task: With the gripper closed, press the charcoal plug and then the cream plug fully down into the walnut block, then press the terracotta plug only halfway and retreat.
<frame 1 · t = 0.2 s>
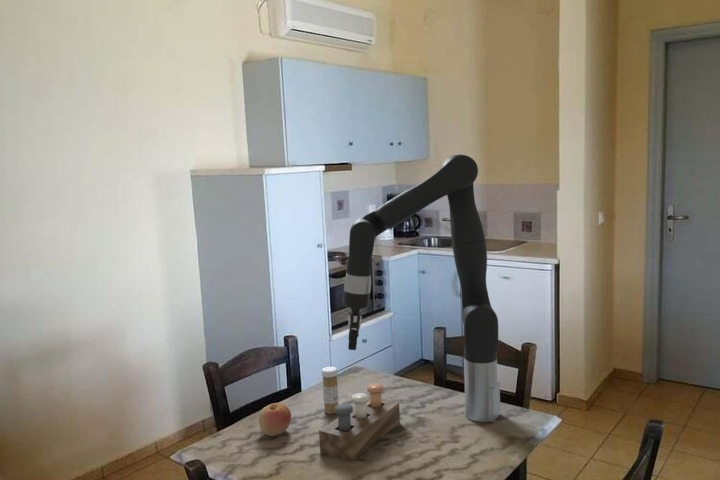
hand: (352, 344, 170), 22 cm above the table, tool pointing down, fingers open, 8 cm apart
cream plug: (360, 408, 161), point 8 cm above the table, slide at 0.0 cm
charcoal plug: (344, 420, 154), point 8 cm above the table, slide at 0.0 cm
apple: (275, 433, 167), on the table
walnut block: (361, 436, 162), on the table
terracotta plug: (375, 398, 168), point 8 cm above the table, slide at 0.0 cm
sprinkles bottle: (331, 412, 179), on the table
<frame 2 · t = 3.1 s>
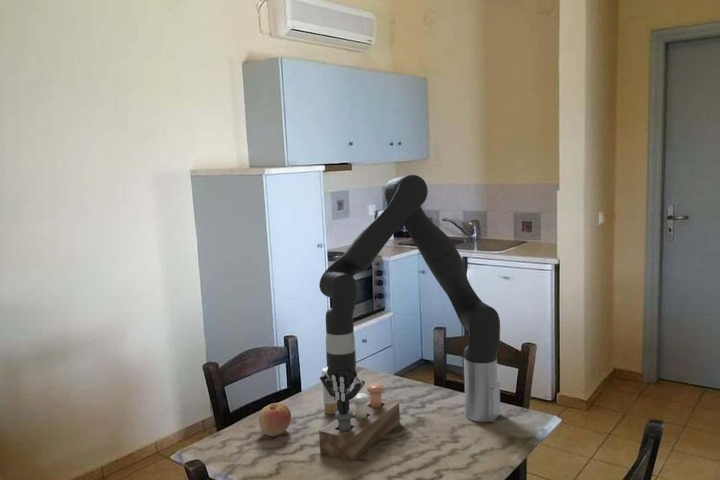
hand: (343, 413, 154), 10 cm above the table, tool pointing down, fingers closed
charcoal plug: (344, 425, 155), point 6 cm above the table, slide at 1.5 cm, touching gripper
everything else where it was.
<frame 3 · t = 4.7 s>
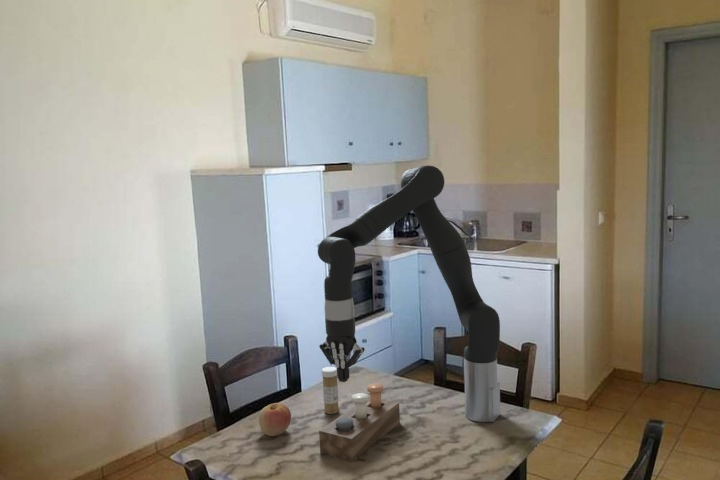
hand: (343, 380, 153), 19 cm above the table, tool pointing down, fingers closed
charcoal plug: (345, 434, 155), point 4 cm above the table, slide at 3.8 cm
everything else where it was.
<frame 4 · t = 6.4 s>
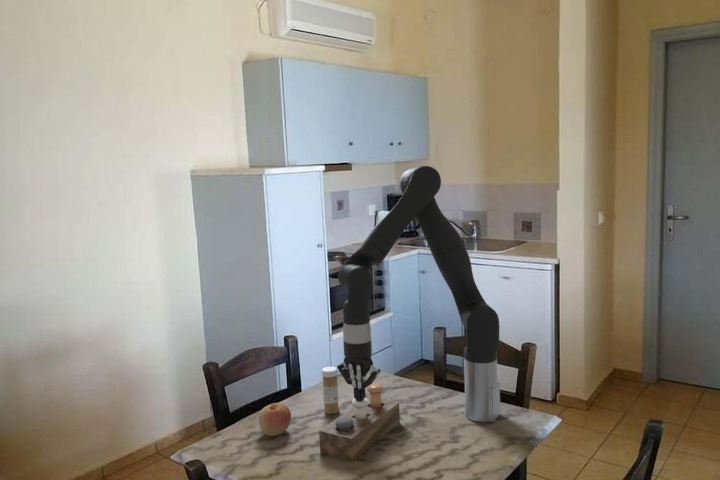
hand: (359, 400, 161), 10 cm above the table, tool pointing down, fingers closed
cream plug: (360, 412, 161), point 7 cm above the table, slide at 1.1 cm, touching gripper
everything else where it was.
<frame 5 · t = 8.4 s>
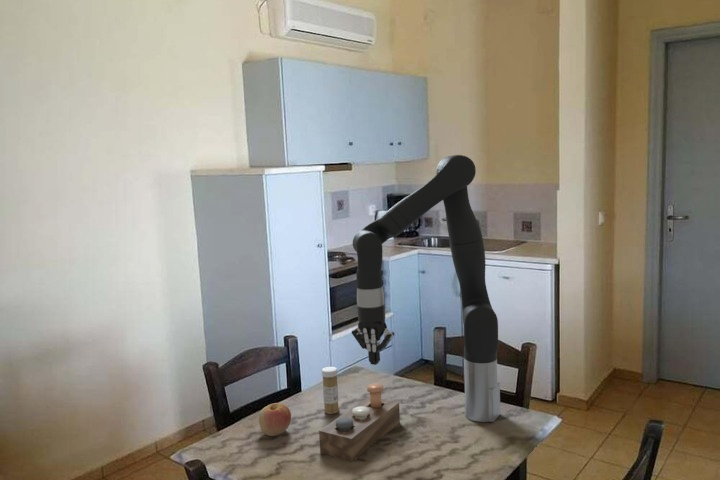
hand: (374, 363, 165), 18 cm above the table, tool pointing down, fingers closed
cream plug: (361, 422, 162), point 4 cm above the table, slide at 3.8 cm
everything else where it was.
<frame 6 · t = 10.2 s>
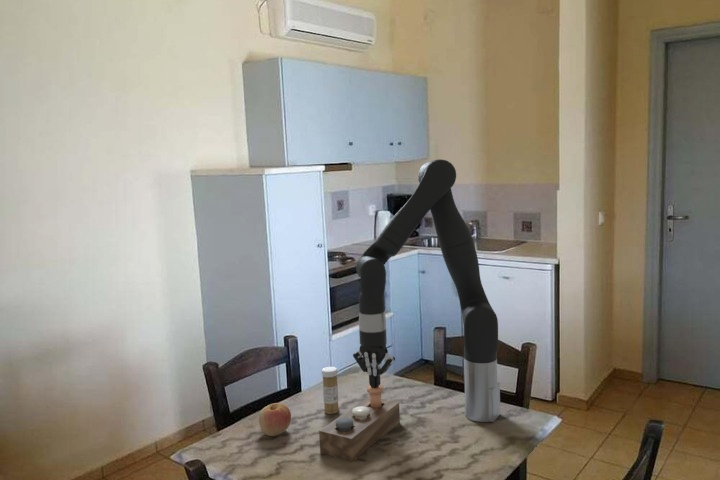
hand: (374, 387, 167), 11 cm above the table, tool pointing down, fingers closed
terracotta plug: (375, 399, 168), point 8 cm above the table, slide at 0.2 cm, touching gripper
everything else where it was.
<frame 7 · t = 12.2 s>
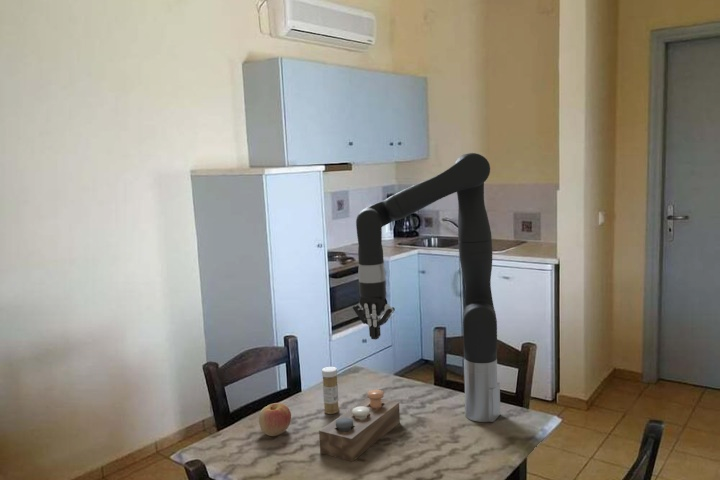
hand: (375, 338, 170), 24 cm above the table, tool pointing down, fingers closed
terracotta plug: (375, 404, 168), point 6 cm above the table, slide at 1.8 cm
everything else where it was.
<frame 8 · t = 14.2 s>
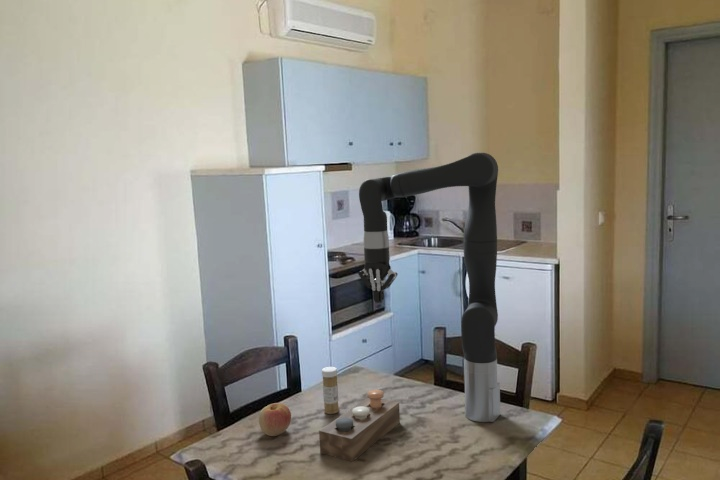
hand: (378, 302, 179), 32 cm above the table, tool pointing down, fingers closed
nothing on the table moved.
at the end: charcoal plug slide at 3.8 cm; cream plug slide at 3.8 cm; terracotta plug slide at 1.8 cm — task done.
